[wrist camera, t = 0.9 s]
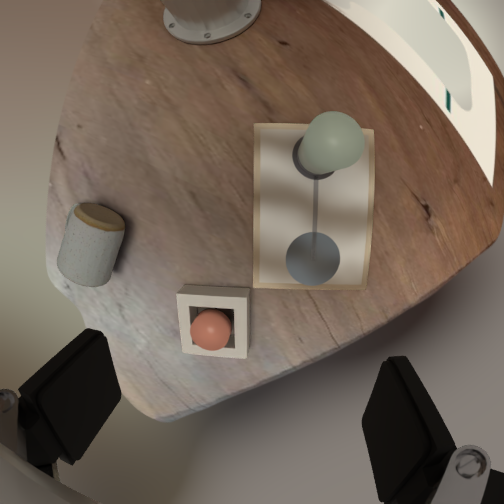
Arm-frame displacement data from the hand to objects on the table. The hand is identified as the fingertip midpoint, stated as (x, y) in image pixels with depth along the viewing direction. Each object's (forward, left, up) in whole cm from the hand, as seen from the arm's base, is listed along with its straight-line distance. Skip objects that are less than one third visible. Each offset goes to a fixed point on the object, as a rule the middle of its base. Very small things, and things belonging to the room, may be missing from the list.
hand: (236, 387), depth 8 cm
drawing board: (-4, +5, -24) cm, 25 cm away
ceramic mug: (-1, -22, -24) cm, 33 cm away
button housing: (+10, -6, -24) cm, 27 cm away
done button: (+10, -6, -22) cm, 24 cm away
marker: (-9, +5, -23) cm, 25 cm away
